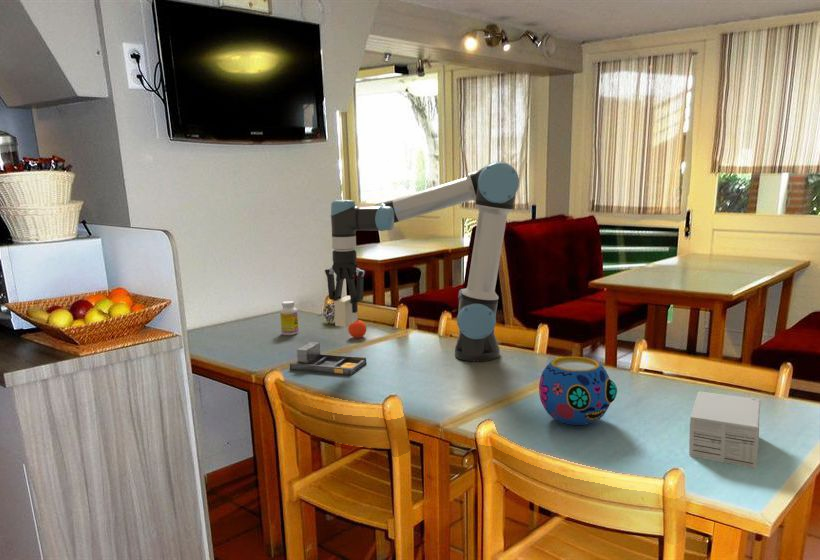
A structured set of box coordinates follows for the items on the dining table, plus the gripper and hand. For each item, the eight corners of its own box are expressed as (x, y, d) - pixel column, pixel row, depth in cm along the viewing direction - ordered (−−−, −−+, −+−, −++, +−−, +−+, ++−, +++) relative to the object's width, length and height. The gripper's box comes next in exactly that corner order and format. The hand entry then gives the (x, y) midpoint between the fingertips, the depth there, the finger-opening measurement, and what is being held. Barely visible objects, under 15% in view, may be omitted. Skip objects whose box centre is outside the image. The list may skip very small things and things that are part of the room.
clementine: (345, 336, 241) (344, 318, 240) (362, 333, 244) (361, 316, 243) (352, 341, 234) (351, 322, 233) (369, 338, 237) (368, 320, 236)
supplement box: (695, 427, 150) (697, 390, 148) (758, 437, 143) (761, 398, 141) (687, 456, 135) (689, 415, 134) (756, 469, 129) (759, 426, 127)
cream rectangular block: (358, 320, 204) (357, 296, 202) (345, 326, 196) (344, 301, 194) (348, 319, 205) (347, 295, 204) (335, 325, 197) (334, 301, 195)
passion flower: (329, 336, 262) (315, 312, 264) (350, 327, 269) (336, 303, 271) (339, 326, 253) (324, 301, 255) (360, 316, 260) (345, 292, 262)
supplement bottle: (296, 335, 245) (294, 303, 243) (280, 336, 245) (277, 304, 243) (300, 331, 251) (297, 300, 249) (283, 331, 252) (281, 300, 249)
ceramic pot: (568, 441, 144) (569, 379, 141) (525, 415, 160) (524, 359, 157) (627, 427, 151) (629, 367, 148) (580, 402, 167) (580, 348, 164)
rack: (366, 363, 206) (365, 344, 205) (350, 375, 195) (348, 355, 194) (308, 358, 214) (307, 340, 213) (289, 370, 203) (288, 350, 202)
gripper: (373, 248, 196) (375, 321, 201) (326, 247, 202) (329, 317, 207) (363, 252, 190) (365, 326, 194) (315, 250, 195) (318, 322, 200)
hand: (346, 321), depth 200 cm, fingers closed on cream rectangular block, 3 cm apart
